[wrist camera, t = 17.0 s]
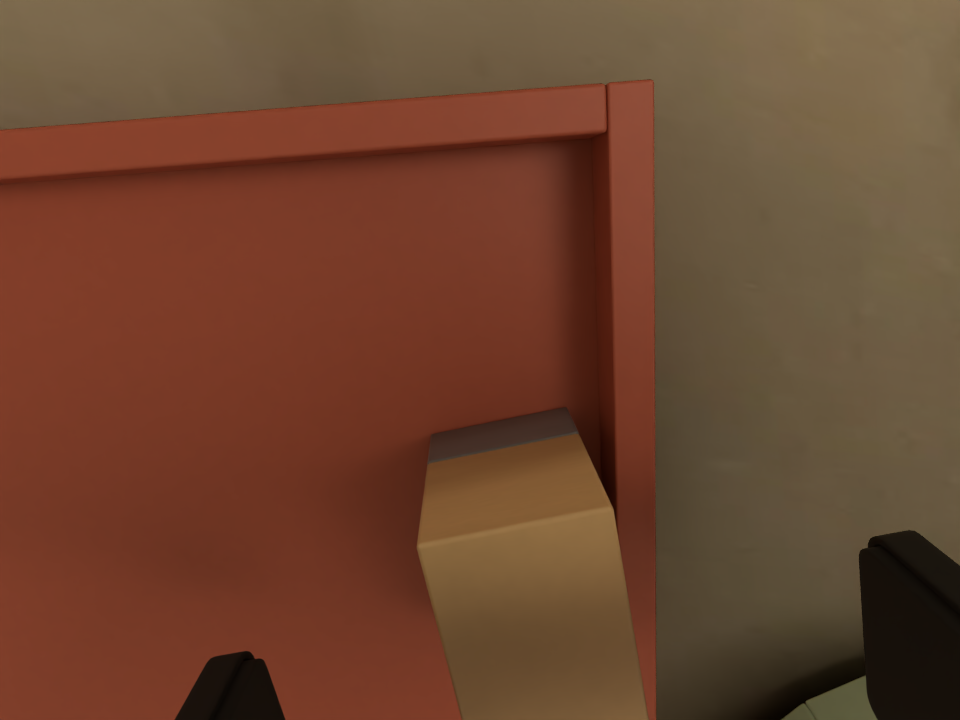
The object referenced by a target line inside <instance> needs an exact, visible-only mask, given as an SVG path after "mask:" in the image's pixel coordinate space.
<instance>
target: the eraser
mask: <svg viewBox="0 0 960 720" xmlns="http://www.w3.org/2000/svg"><path fill="white" fill-rule="evenodd" d="M417 552H418V555H419V559H420V563H421V567H422V571H423V574H424V578H425V582H426V586H427V590H428V593H429V597H430V601H431V605H432V609H433V612H434V616H435V620H436V624H437V628H438V631H439V635H440V639H441V643H442V647H443V650H444V654H445V658H446V662H447V666H448V669H449V673H450V677H451V681H452V685H453V688H454V692H455V696H456V700H457V704H458V707H459V711H460V715H461V719H462V720H649V718H648V712H647V706H646V700H645V694H644V688H643V682H642V676H641V670H640V664H639V658H638V652H637V646H636V640H635V634H634V628H633V622H632V616H631V610H630V604H629V599H628V593H627V587H626V581H625V575H624V569H623V563H622V557H621V551H620V545H619V539H618V533H617V527H616V521H615V515H614V509H613V507H612V505H611V503H610V500H609V498H608V496H607V494H606V492H605V490H604V487H603V485H602V483H601V481H600V479H599V476H598V474H597V472H596V470H595V468H594V466H593V463H592V461H591V459H590V457H589V455H588V453H587V450H586V448H585V446H584V444H583V442H582V440H581V437H580V436H579V432H578V430H577V428H576V426H575V424H574V422H573V419H572V417H571V415H570V413H569V411H568V409H567V408H566V407H563V408H558V409H553V410H548V411H543V412H538V413H533V414H529V415H524V416H519V417H514V418H509V419H504V420H499V421H494V422H489V423H484V424H479V425H474V426H469V427H464V428H460V429H455V430H450V431H445V432H440V433H435V434H432V435H431V439H430V446H429V454H428V461H427V472H426V479H425V487H424V495H423V502H422V510H421V517H420V525H419V533H418V540H417Z"/></svg>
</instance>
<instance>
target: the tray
mask: <svg viewBox="0 0 960 720" xmlns="http://www.w3.org/2000/svg"><path fill="white" fill-rule="evenodd" d="M563 407H566V408H567V409H568V411H569V413H570V415H571V417H572V419H573V422H574V424H575V426H576V428H577V430H578V432H579V436H580V437H581V440H582V442H583V444H584V446H585V448H586V450H587V453H588V455H589V457H590V459H591V461H592V463H593V466H594V468H595V470H596V472H597V474H598V476H599V479H600V481H601V483H602V485H603V487H604V490H605V492H606V494H607V496H608V498H609V500H610V503H611V505H612V507H613V509H614V515H615V521H616V527H617V533H618V539H619V545H620V551H621V557H622V563H623V569H624V575H625V581H626V587H627V593H628V599H629V604H630V610H631V616H632V622H633V628H634V634H635V640H636V646H637V652H638V658H639V664H640V670H641V676H642V682H643V688H644V694H645V700H646V706H647V712H648V718H649V720H656V522H655V248H654V82H653V80H651V79H649V80H636V81H623V82H610V83H608V84H606V85H604V84H602V83H600V84H587V85H574V86H561V87H548V88H535V89H522V90H509V91H496V92H483V93H470V94H457V95H445V96H432V97H419V98H406V99H393V100H380V101H367V102H354V103H341V104H328V105H315V106H302V107H289V108H276V109H264V110H251V111H238V112H225V113H212V114H199V115H186V116H173V117H160V118H147V119H134V120H121V121H108V122H95V123H83V124H70V125H57V126H44V127H31V128H18V129H5V130H0V720H175V718H176V716H177V714H178V713H179V711H180V709H181V707H182V706H183V704H184V702H185V700H186V698H187V697H188V695H189V693H190V691H191V690H192V688H193V686H194V684H195V682H196V681H197V679H198V677H199V675H200V674H201V672H202V670H203V668H204V667H205V665H206V663H207V662H208V661H209V659H210V658H212V657H215V656H220V655H226V654H231V653H237V652H242V651H250V652H251V653H252V654H253V655H254V658H255V659H258V658H260V659H263V660H264V661H265V663H266V666H267V668H268V671H269V674H270V677H271V680H272V683H273V685H274V688H275V691H276V694H277V697H278V700H279V703H280V705H281V708H282V711H283V714H284V717H285V720H462V719H461V715H460V711H459V707H458V704H457V700H456V696H455V692H454V688H453V685H452V681H451V677H450V673H449V669H448V666H447V662H446V658H445V654H444V650H443V647H442V643H441V639H440V635H439V631H438V628H437V624H436V620H435V616H434V612H433V609H432V605H431V601H430V597H429V593H428V590H427V586H426V582H425V578H424V574H423V571H422V567H421V563H420V559H419V555H418V552H417V540H418V533H419V525H420V517H421V510H422V502H423V495H424V487H425V479H426V472H427V461H428V454H429V446H430V439H431V435H432V434H435V433H440V432H445V431H450V430H455V429H460V428H464V427H469V426H474V425H479V424H484V423H489V422H494V421H499V420H504V419H509V418H514V417H519V416H524V415H529V414H533V413H538V412H543V411H548V410H553V409H558V408H563Z"/></svg>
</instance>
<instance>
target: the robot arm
mask: <svg viewBox="0 0 960 720" xmlns="http://www.w3.org/2000/svg"><path fill="white" fill-rule="evenodd" d="M859 569H860V586H861V603H862V620H863V637H864V654H865V671H866V688H867V696H868V700H869V703H870V706H871V708H872V711H873V712H874V714H875V716H876V718H877V719H878V720H960V566H959V565H958V564H957V563H956V562H954V561H953V560H952V559H950V558H949V557H948V556H947V555H945V554H944V553H943V552H942V551H940V550H939V549H938V548H937V547H935V546H934V545H933V544H932V543H930V542H929V541H928V540H926V539H925V538H924V537H923V536H921V535H920V534H919V533H917V532H915V531H911V530H908V531H902V532H897V533H891V534H886V535H880V536H875V537H872V538H871V539H870V540H869V543H868V548H865V549H862V550H861V551H860V553H859ZM175 720H285V717H284V714H283V711H282V708H281V705H280V703H279V700H278V697H277V694H276V691H275V688H274V685H273V683H272V680H271V677H270V674H269V671H268V668H267V666H266V663H265V661H264V660H263V659H260V658H258V659H255V658H254V655H253V654H252V653H251V652H250V651H242V652H237V653H231V654H226V655H220V656H215V657H212V658H210V659H209V661H208V662H207V663H206V665H205V667H204V668H203V670H202V672H201V674H200V675H199V677H198V679H197V681H196V682H195V684H194V686H193V688H192V690H191V691H190V693H189V695H188V697H187V698H186V700H185V702H184V704H183V706H182V707H181V709H180V711H179V713H178V714H177V716H176V718H175Z"/></svg>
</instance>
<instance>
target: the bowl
mask: <svg viewBox="0 0 960 720" xmlns="http://www.w3.org/2000/svg"><path fill="white" fill-rule="evenodd" d="M805 703H806V704H804V703H803V704H801V705H799V706H798V707H797V708H795V709H794V710H793V711H791V712H790V713H789V714H788V715H786V716H785V717H784V718H782V719H781V720H878V719H877V718H876V716H875V714H874V712H873V711H872V708H871V706H870V703H869V700H868V696H867V688H866V675H865V676H863V677H860V678H858V679H856V680H853V681H851V682H849V683H846V684H844V685H842V686H839V687H837V688H835V689H832V690H830V691H828V692H825V693H823V694H821V695H818V696H816V697H814V698H811V699H809V700H807V701H806V702H805Z"/></svg>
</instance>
